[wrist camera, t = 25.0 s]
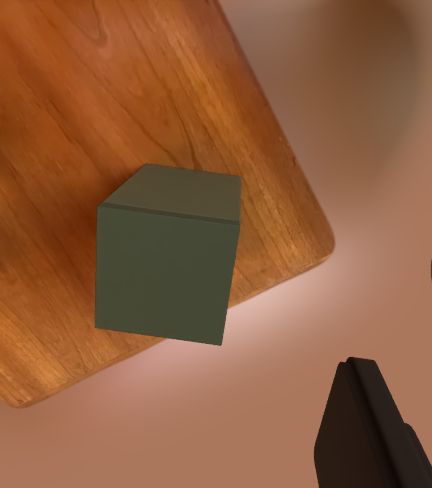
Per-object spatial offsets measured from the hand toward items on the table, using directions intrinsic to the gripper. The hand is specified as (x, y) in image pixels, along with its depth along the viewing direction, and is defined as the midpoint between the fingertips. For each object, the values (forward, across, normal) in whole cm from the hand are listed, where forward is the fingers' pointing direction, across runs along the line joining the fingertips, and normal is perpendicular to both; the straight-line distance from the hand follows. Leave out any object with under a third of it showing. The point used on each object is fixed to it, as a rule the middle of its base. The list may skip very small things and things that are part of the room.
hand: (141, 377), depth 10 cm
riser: (+30, +2, +6) cm, 31 cm away
